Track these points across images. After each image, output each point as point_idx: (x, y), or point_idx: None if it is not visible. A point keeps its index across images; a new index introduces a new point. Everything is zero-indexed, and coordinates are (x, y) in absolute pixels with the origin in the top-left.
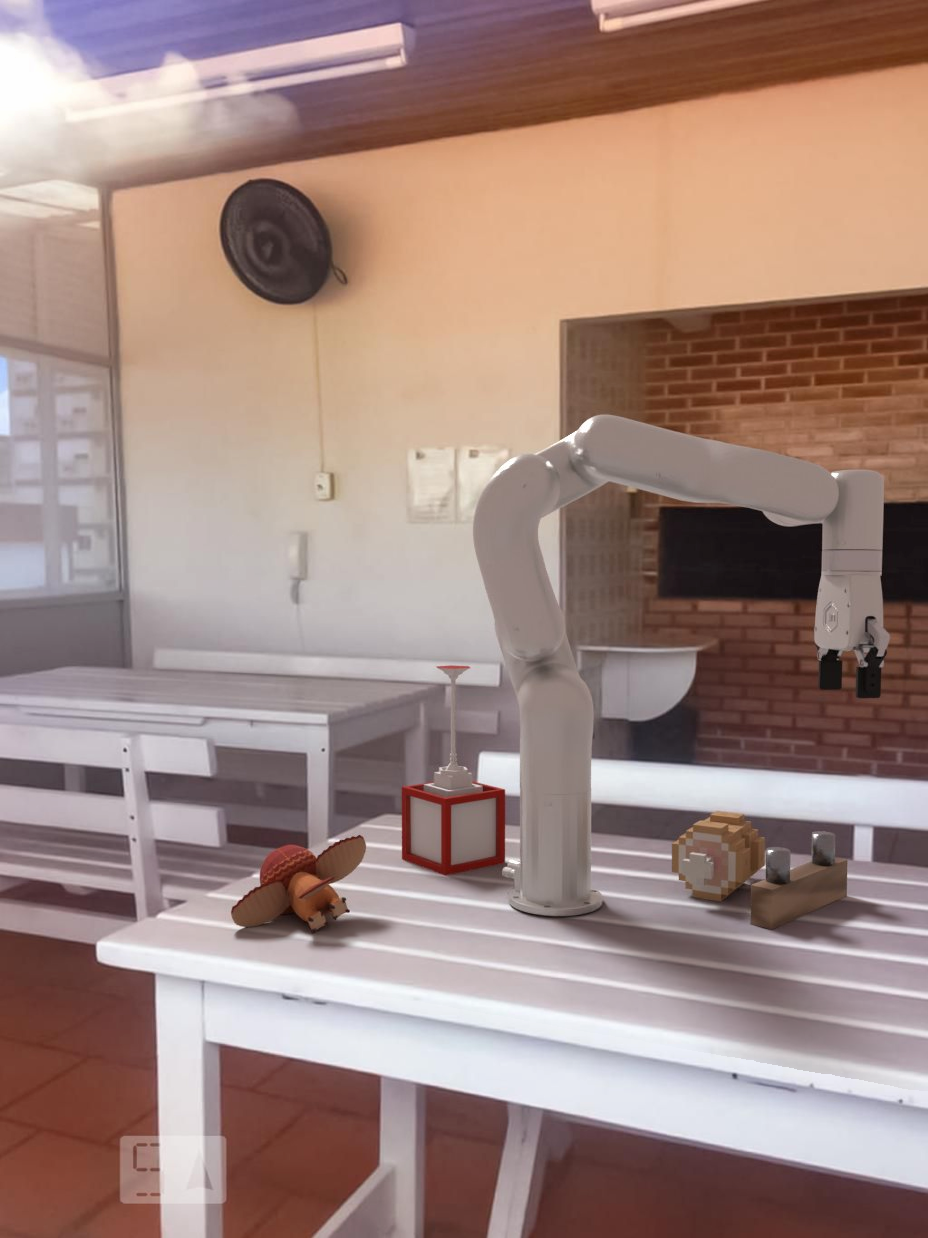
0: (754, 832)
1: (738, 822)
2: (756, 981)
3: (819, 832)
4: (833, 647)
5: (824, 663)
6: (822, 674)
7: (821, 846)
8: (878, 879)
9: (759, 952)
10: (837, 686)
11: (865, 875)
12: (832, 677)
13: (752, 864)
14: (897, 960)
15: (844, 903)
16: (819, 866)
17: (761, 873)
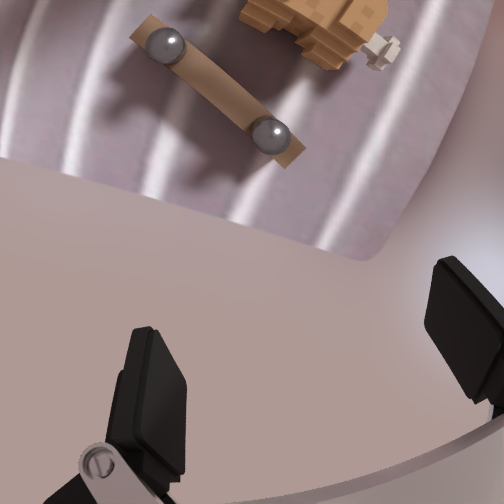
0: (332, 50)
1: (339, 25)
2: (12, 31)
3: (282, 134)
4: (313, 502)
5: (492, 343)
6: (468, 301)
7: (255, 127)
8: (338, 213)
9: (73, 28)
10: (429, 320)
11: (353, 204)
12: (450, 328)
13: (305, 47)
14: (65, 155)
15: (245, 145)
16: (248, 120)
17: (369, 86)
